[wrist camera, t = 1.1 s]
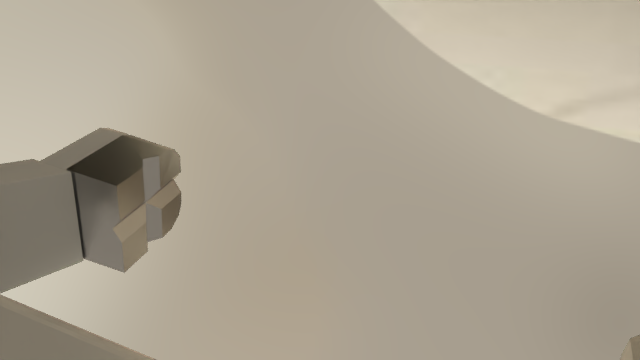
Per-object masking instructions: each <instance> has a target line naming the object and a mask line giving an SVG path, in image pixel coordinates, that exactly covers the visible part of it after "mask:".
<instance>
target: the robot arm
mask: <svg viewBox="0 0 640 360" xmlns="http://www.w3.org/2000/svg"><path fill="white" fill-rule="evenodd" d="M180 172H181V166H180V156H179V154H178V153H177V152H176V151H175V150H174V149H171V148H168V147H165V146H162V145H159V144H156V143H153V142H150V141H147V140H144V139H141V138H138V137H135V136H132V135H128V134H126V133H123V132H119V131H116V130H113V129H109V128H99V129H97V130H95V131H94V132H92V133H90V134H88V135H87V136H85V137H83V138H81V139H79V140H77V141H76V142H74V143H72V144H70V145H68V146H67V147H65V148H63V149H61V150H59V151H57V152H56V153H54V154H52V155H50V156H48V157H47V158H45V159H43V160H41V161H37V160H34V159H30V160H23V161H17V162H11V163H5V164H0V293H3V292H5V291H8V290H10V289H13V288H15V287H18V286H20V285H23V284H26V283H28V282H31V281H33V280H36V279H38V278H41V277H43V276H46V275H48V274H51V273H53V272H56V271H59V270H61V269H64V268H66V267H69V266H71V265H74V264H77V263H79V262H82V261H83V259H86V260H90V261H92V262H95V263H98V264H101V265H104V266H107V267H110V268H112V269H115V270H118V271H121V272H126V271H127V270H128V269H129V268H130V267H131V266H132V265H133V264H134V263H135V262H137V261H138V260H139V259H140V258H141V257H142V256H143V255H144V254H145V253H146V252H147V251H148V242H149V241H152V240H156V239H159V238H162V237H164V236H165V235H166V234H167V233H168V231H170V230H171V229H172V227H173V225H174V223H175V221H176V219H177V217H178V215H179V211H180V207H181V191H180V189H179V188H178V186H177V184H176V182H175V181H174V179H175V178H176V177H177V175H178V174H179V173H180ZM0 360H156V359H154V358H151V357H149V356H146V355H144V354H141V353H139V352H137V351H134V350H132V349H129V348H127V347H124V346H122V345H120V344H118V343H115V342H113V341H110V340H108V339H105V338H103V337H101V336H98V335H96V334H94V333H91V332H89V331H86V330H84V329H81V328H79V327H77V326H74V325H72V324H69V323H67V322H65V321H62V320H60V319H58V318H55V317H53V316H50V315H48V314H46V313H43V312H41V311H38V310H36V309H33V308H31V307H29V306H26V305H24V304H22V303H19V302H17V301H14V300H12V299H10V298H7V297H5V296H2V295H0ZM620 360H640V335H638V336H635V337H633V338H630V340H629V342H628V343H627V345H626V347H625V349H624V351H623V353H622V355H621V358H620Z"/></svg>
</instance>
